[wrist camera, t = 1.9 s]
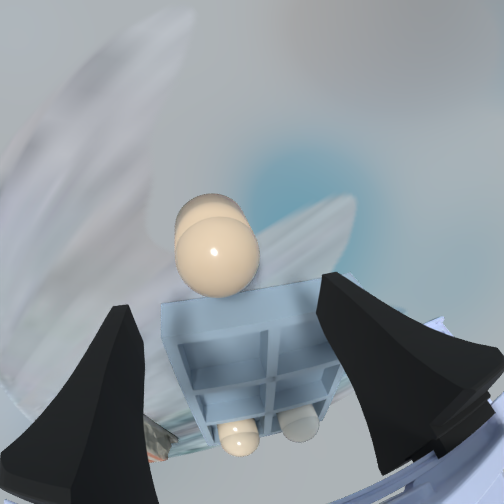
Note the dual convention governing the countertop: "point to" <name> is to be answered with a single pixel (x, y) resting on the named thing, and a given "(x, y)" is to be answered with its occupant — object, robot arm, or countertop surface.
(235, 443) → the seated egg
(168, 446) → the packaged product
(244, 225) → the loose egg
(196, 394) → the egg carton
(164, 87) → the countertop surface
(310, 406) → the seated egg
